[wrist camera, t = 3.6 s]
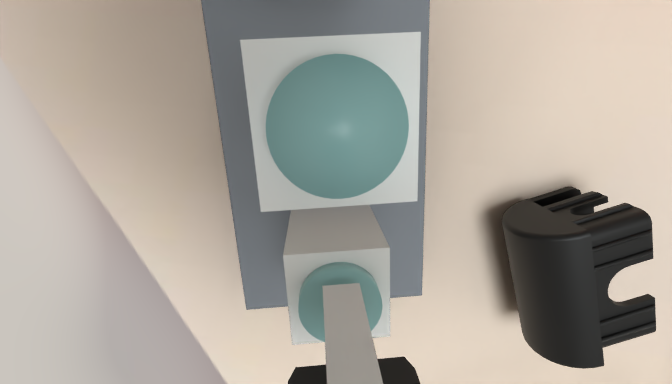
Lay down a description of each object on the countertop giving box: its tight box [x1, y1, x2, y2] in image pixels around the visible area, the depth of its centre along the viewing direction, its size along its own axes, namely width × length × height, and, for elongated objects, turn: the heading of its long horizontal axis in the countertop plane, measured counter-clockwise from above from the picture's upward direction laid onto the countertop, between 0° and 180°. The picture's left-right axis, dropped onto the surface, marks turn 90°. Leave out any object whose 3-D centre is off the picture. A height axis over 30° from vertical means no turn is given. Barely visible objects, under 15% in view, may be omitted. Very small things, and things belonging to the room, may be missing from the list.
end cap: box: [502, 187, 656, 368], centre depth 24 cm, size 10×7×7 cm
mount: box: [201, 0, 430, 310], centre depth 19 cm, size 26×12×8 cm, turn 3°
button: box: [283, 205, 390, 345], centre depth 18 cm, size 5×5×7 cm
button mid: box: [240, 32, 421, 212], centre depth 12 cm, size 5×5×7 cm
